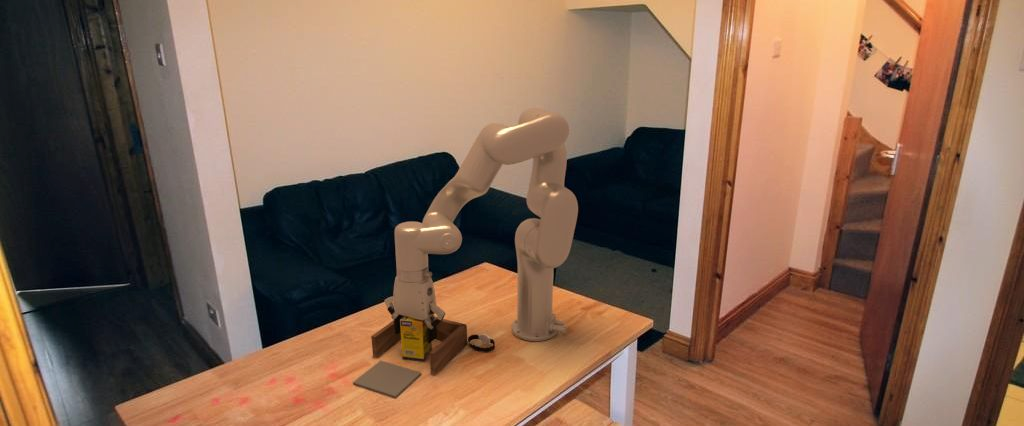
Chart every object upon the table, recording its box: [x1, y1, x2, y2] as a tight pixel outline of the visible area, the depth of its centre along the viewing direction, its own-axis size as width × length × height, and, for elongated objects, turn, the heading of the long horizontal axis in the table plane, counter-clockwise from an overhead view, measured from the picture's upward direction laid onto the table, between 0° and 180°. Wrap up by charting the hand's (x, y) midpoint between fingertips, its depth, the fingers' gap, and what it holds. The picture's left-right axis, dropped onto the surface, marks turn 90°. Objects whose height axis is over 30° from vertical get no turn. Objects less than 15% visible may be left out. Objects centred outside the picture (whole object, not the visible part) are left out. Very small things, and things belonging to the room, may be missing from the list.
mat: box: [352, 360, 422, 399], centre depth 125 cm, size 12×10×1 cm
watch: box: [467, 333, 496, 353], centre depth 138 cm, size 8×5×4 cm, turn 61°
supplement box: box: [400, 316, 433, 362], centre depth 134 cm, size 6×6×11 cm
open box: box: [371, 316, 468, 377], centre depth 136 cm, size 18×15×6 cm
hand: (415, 336), depth 134 cm, fingers open, 9 cm apart
